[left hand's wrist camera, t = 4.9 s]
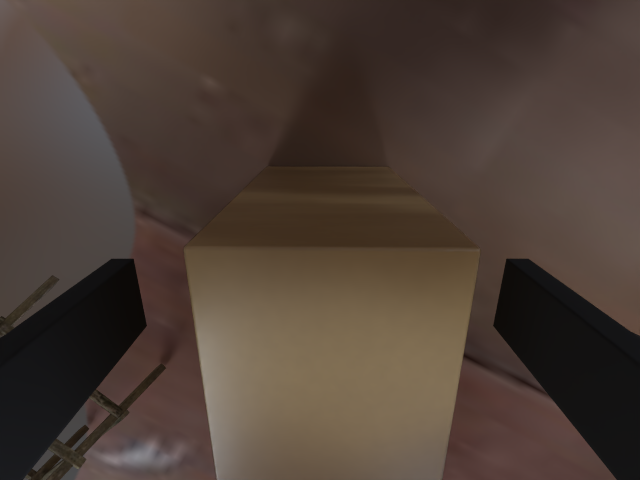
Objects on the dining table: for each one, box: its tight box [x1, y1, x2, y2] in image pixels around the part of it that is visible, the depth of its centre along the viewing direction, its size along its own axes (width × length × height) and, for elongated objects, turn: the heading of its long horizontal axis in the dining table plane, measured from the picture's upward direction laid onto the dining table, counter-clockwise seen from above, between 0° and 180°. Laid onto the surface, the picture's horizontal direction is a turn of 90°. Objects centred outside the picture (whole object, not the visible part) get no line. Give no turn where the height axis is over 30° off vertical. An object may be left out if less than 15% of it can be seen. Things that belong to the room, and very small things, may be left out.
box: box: [183, 166, 481, 480], centre depth 17 cm, size 26×6×11 cm, turn 0°
